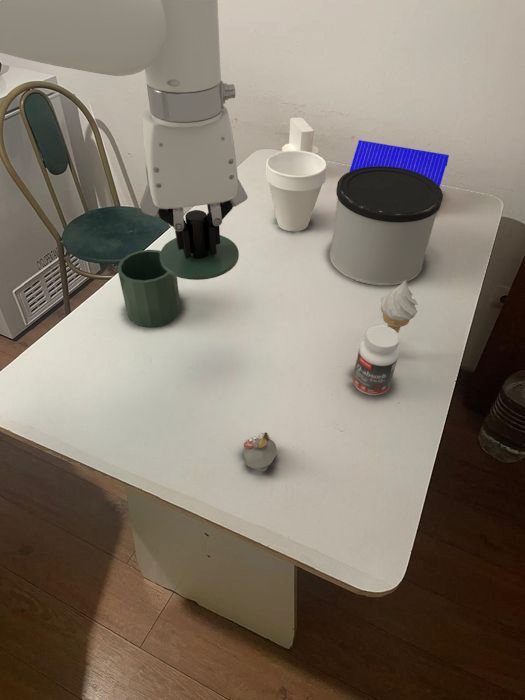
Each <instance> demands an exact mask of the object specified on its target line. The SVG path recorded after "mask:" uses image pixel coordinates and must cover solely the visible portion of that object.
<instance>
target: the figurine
mask: <svg viewBox="0 0 525 700" xmlns="http://www.w3.org/2000/svg"><path fill="white" fill-rule="evenodd" d="M260 436H261V437H260ZM242 449H243V458H244V461H245V463H246V465H247V467H249V468H251V469H253V470H257V471H259V472H265V471H267V469H269V466H270V465H272V464H273V461H274V460H275V458H276V455H277V449H278V448H277V444H276V443H275V441H273V440H272V439H271V437H270V435H269V433H268V432H267V431H266V432H260V434H258V436H256V435H253V436H251V437H250V438H247V439H245V440H244V442H243V447H242Z"/></svg>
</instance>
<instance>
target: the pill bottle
mask: <svg viewBox="0 0 525 700" xmlns="http://www.w3.org/2000/svg"><path fill="white" fill-rule="evenodd" d="M399 342H400V334H399V332H398V333H397V332H396V331H395V330H394V329H392V328H390V327H388V325H383V324H377V325H372V326H371V327H369V328H368V329H367V330H366V331H365V336H364V339H363V340H362V341H361V342H360V344H359V347H358V350H357V351H358V352H357V356H356V360H355V366H354V370H353V375H352V383H353V384H354V386H355V388H356V389H357V390H358V391H360V392H361V393H362V394H365V395H368V396H378V395H382V394H385V393H386V392H387V391H388V390H389V389H390V387H391V384H392V380H393V376H394V373H395V369H396V366H397V363H398V360H399V354H400V352H399V351H400V350H399V344H400V343H399Z"/></svg>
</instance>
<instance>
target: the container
mask: <svg viewBox="0 0 525 700" xmlns="http://www.w3.org/2000/svg"><path fill="white" fill-rule="evenodd" d="M349 171H350V170H349ZM349 171H348V172H346V173H344V174H343V175H341V176H340V178H339V179H338V181H337V185H336V191H335V192H336V197H337V201H336V207H335V208H336V209H335V216H334V222H333V223H334V225H333V232H332V241H331V247H330V249H329V250H330V251H329V258H330V262H331V264H332V265H333V266H334V268H335V269H336V270H337V271H338V272H339V273H341V274H342V275H344V276H345V277H347V278H349V279H351V280H353V281H355V282H356V281H357V282H359V283H363V284H366V285H372V286H383V287H385V286H397V285H401V284H402V283H403V282H404V281H405V280H406V282H407V283H408V282H410V281H411V280H414V279H415V278H417V276H419V274H420V273H421V272H422V269H423V267H424V259H425V256H426V252H427V249H428V245H429V241H430V238H431V234H432V231H433V226H434V224H435V220H436V216H437V213H438V211H440V208H441V206H442V202H443V200H444V192H443V190H442V189H441V186H440V187H439V186H438V185H437V184H436V183H435V182H434V181H433V180H431V179H430V178H428V177H426V176H424V175H422V174H419V173H417V172H414V171H411V170H407V169H402V168H397V167H388V166H371V167H363V168H359V169H355V170H352V171H350V172H349Z"/></svg>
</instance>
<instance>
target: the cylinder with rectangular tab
mask: <svg viewBox="0 0 525 700" xmlns="http://www.w3.org/2000/svg"><path fill="white" fill-rule="evenodd" d="M314 133H315V131H314V129H313V127H311V125H310V124H309V123H308V122H307V121H306V120H305V119H304V118H303V116H302V117H300V116H299V117H298V116H297V117H291V118H289V135H288V139H289V140H288V143H285V144H284V145H283V146H282V147H281V152H283V151H290V150H299V151H307V152H311V153H314V154H317V155H319V148H318V147H317V146H316V145H315V144H314V135H315V134H314Z"/></svg>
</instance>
